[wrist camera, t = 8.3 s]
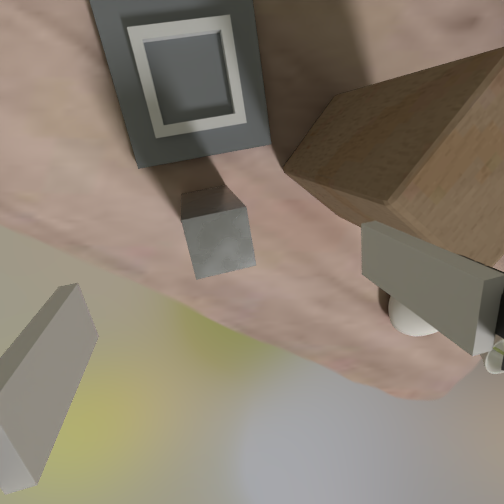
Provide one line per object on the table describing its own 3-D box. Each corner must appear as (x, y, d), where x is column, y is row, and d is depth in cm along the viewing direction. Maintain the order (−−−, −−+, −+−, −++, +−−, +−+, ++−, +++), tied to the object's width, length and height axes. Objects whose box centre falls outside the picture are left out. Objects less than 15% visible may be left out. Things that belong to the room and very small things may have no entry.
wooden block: (279, 169, 35) (384, 202, 17) (334, 93, 34) (515, 38, 16) (339, 217, 39) (478, 287, 21) (391, 150, 37) (593, 161, 19)
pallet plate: (247, -12, 29) (252, -24, 27) (268, 144, 34) (274, 144, 32) (93, 5, 27) (85, -6, 25) (139, 167, 32) (137, 169, 30)
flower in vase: (457, 302, 48) (708, 451, 25) (395, 341, 48) (589, 525, 25) (436, 235, 43) (727, 345, 20) (366, 278, 43) (577, 438, 20)
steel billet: (225, 185, 35) (246, 206, 24) (233, 227, 37) (256, 265, 26) (181, 194, 34) (181, 220, 23) (192, 236, 36) (196, 279, 25)
